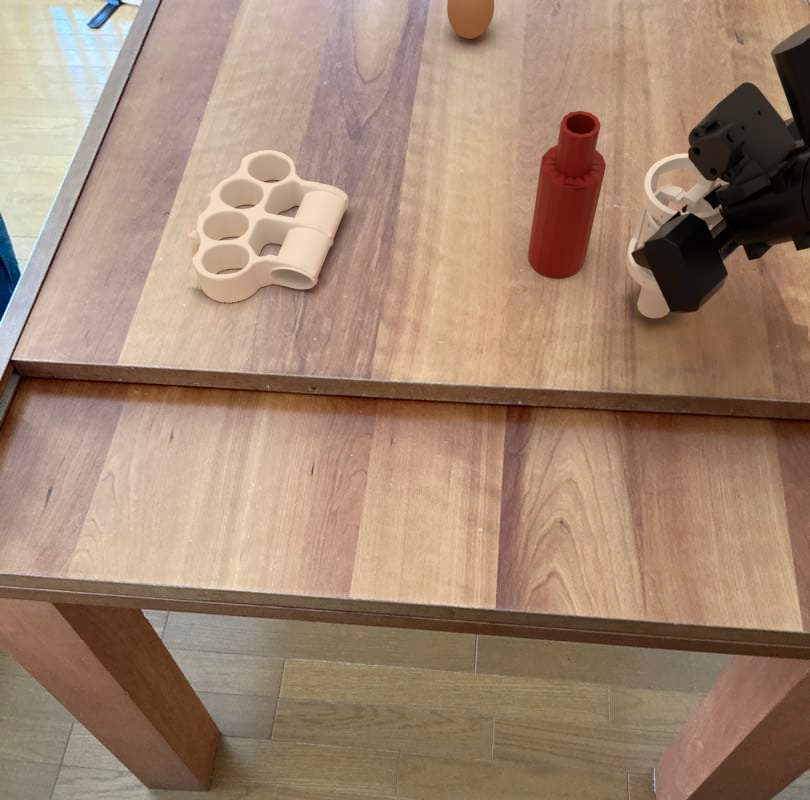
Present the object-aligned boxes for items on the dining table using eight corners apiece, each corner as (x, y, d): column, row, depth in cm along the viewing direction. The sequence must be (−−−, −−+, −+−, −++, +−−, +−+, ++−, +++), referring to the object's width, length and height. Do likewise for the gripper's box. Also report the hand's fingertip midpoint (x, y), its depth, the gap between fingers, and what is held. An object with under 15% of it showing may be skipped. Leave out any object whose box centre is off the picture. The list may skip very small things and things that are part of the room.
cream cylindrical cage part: (707, 301, 76) (759, 167, 63) (662, 347, 75) (706, 220, 61) (645, 264, 79) (682, 128, 65) (600, 309, 77) (628, 177, 63)
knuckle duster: (306, 319, 79) (167, 292, 81) (359, 190, 87) (230, 168, 89) (301, 295, 76) (156, 267, 78) (356, 163, 84) (223, 141, 86)
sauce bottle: (576, 232, 83) (604, 97, 70) (590, 274, 81) (622, 141, 67) (522, 240, 83) (540, 106, 69) (535, 282, 81) (556, 151, 67)
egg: (454, 53, 96) (456, -8, 90) (441, 26, 98) (441, -36, 92) (498, 44, 96) (503, -18, 90) (483, 17, 99) (487, -46, 92)
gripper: (864, 10, 56) (688, 90, 70) (703, 150, 51) (545, 207, 64) (910, 161, 61) (736, 209, 74) (766, 305, 55) (607, 327, 69)
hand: (659, 234), depth 70 cm, fingers closed on cream cylindrical cage part, 7 cm apart
